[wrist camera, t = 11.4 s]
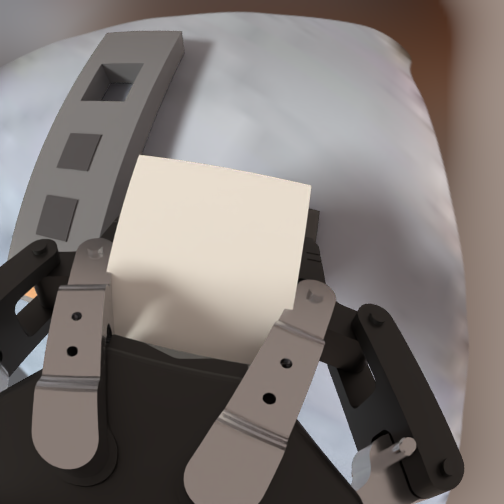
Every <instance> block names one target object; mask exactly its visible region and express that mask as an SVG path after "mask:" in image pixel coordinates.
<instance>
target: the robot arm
mask: <svg viewBox="0 0 504 504" xmlns="http://www.w3.org/2000/svg"><path fill="white" fill-rule="evenodd" d="M120 214H121V213H120ZM119 218H120V215H119V217H117V218H116V219H115V220H114V222H113V223H112V224H111V225H110V226H109V227H108V229H107V230H106V231H105V232H104V233H103V235H102V236H101V237H100V238H93V239H89V240H87V241H85V242H83V243H82V244H80V245H79V247H78V248H77V251H71V252H59V251H58V247H57V244H56V242H55V241H53V240H51V239H40V240H36V241H34V242H32V243H31V244H29V245H28V246H26V247H25V248H24V249H22V250H21V251H20V252H19V253H17V254H16V255H15V256H13V257H12V258H11V259H10V260H8V261H7V262H6V263H5V264H3V265H2V266H1V267H0V504H415V503H418V502H421V501H423V500H426V499H429V498H432V497H434V496H437V495H439V494H442V493H444V492H447V491H449V490H451V489H453V488H455V487H456V486H457V485H458V484H459V483H460V481H461V480H462V477H463V474H464V462H463V459H462V456H461V454H460V452H459V449H458V447H457V444H456V442H455V440H454V437H453V435H452V433H451V431H450V428H449V426H448V424H447V422H446V420H445V417H444V415H443V413H442V411H441V409H440V407H439V405H438V403H437V401H436V398H435V396H434V394H433V392H432V390H431V388H430V386H429V384H428V382H427V380H426V378H425V377H424V375H423V373H422V371H421V369H420V367H419V365H418V363H417V361H416V359H415V358H414V356H413V354H412V352H411V350H410V348H409V347H408V345H407V343H406V341H405V339H404V338H403V336H402V334H401V332H400V330H399V329H398V327H397V325H396V324H395V322H394V320H393V318H392V317H391V315H390V314H389V313H388V312H387V311H386V310H385V309H383V308H381V307H380V306H377V305H374V304H365V305H362V306H361V307H360V308H359V310H358V311H355V310H353V309H350V308H348V307H345V306H343V305H341V304H339V303H338V302H336V296H335V293H334V292H333V290H332V289H331V288H330V287H329V286H327V285H326V284H325V278H324V272H323V267H322V263H321V256H320V251H319V246H318V245H317V244H316V243H315V241H314V240H313V239H312V238H308V237H304V244H303V250H302V257H301V263H300V269H299V276H298V282H297V288H296V294H295V300H294V305H293V310H290V309H284V311H283V313H282V314H281V316H280V318H279V320H278V321H277V320H276V322H275V323H274V325H273V327H272V328H271V330H270V332H269V334H268V336H267V337H266V339H265V341H264V343H263V344H262V346H261V348H260V350H259V352H258V353H257V355H256V357H255V359H254V360H253V362H252V364H251V365H250V367H249V369H248V364H243V363H237V362H231V361H225V360H220V359H215V358H205V359H179V358H174V357H172V356H170V355H168V354H166V353H164V352H161V351H159V350H157V349H156V348H154V347H152V346H150V345H148V344H146V343H144V342H140V341H136V340H132V339H129V338H125V337H122V336H119V335H116V334H115V331H114V319H113V307H112V273H110V272H106V271H107V267H108V262H109V258H110V253H111V249H112V245H113V241H114V237H115V233H116V229H117V225H118V221H119ZM33 287H34V288H35V291H36V294H37V296H36V297H35V298H34V299H33V300H32V301H31V302H29V303H28V304H27V305H26V306H25V307H24V308H23V309H22V310H21V311H20V312H19V313H18V314H17V315H16V314H15V306H16V303H17V302H18V301H19V300H20V299H21V298H22V297H23V296H24V295H25V294H26V293H27V292H28V291H29V290H31V289H32V288H33ZM48 333H49V334H48ZM47 334H48V339H47V345H46V351H45V357H44V364H43V369H41V370H39V371H38V372H36V373H34V374H32V375H30V376H29V377H27V378H25V379H23V380H22V381H20V382H18V383H16V384H14V385H12V386H11V387H8V386H7V385H8V381H9V377H10V376H11V374H12V373H13V372H14V371H15V370H16V369H17V367H18V366H19V365H20V364H21V363H22V362H23V361H24V359H25V358H26V357H27V356H28V355H29V354H30V353H31V352H32V350H33V349H34V348H35V347H36V346H37V345H38V344H39V343H40V342H41V340H42V339H43V338H44V337H45V336H46V335H47ZM319 361H321V362H324V363H326V364H328V369H329V371H330V374H331V377H332V380H333V382H334V385H335V388H336V391H337V393H338V396H339V399H340V402H341V405H342V407H343V410H344V413H345V416H346V419H347V422H348V424H349V427H350V430H351V433H352V436H353V439H354V442H355V445H356V448H357V451H358V452H357V454H356V455H355V456H354V458H353V461H352V472H351V474H352V477H353V479H352V483H351V485H350V484H349V483H348V481H347V480H346V479H345V478H344V477H343V476H342V474H341V473H340V472H339V471H338V470H337V468H336V467H335V466H334V465H333V464H332V462H331V461H330V460H329V459H328V457H327V456H326V455H325V454H324V453H323V451H322V450H321V449H320V448H319V446H318V445H317V444H316V443H315V441H314V440H313V439H312V438H311V436H310V435H309V434H308V433H307V431H306V430H305V429H304V427H303V426H302V425H301V424H300V422H299V421H298V420H297V417H298V414H299V412H300V409H301V407H302V405H303V402H304V399H305V397H306V394H307V392H308V389H309V387H310V384H311V381H312V379H313V376H314V373H315V371H316V368H317V365H318V362H319ZM368 364H369V366H370V368H371V371H372V373H373V375H374V377H373V375H372V373H371V371H370V368H369V366H368ZM374 378H375V380H374Z"/></svg>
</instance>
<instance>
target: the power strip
mask: <svg viewBox="0 0 504 504" xmlns="http://www.w3.org/2000/svg"><path fill="white" fill-rule="evenodd" d="M183 54H184V45H183V37H182V31H130V32H114V33H107V34H106V35H105V37H104V38H103V39H102V41H101V42H100V44H99V45H98V47H97V48H96V49H95V51H94V52H93V54H92V55H91V57H90V58H89V60H88V62H87V63H86V65H85V66H84V68H83V69H82V71H81V73H80V74H79V76H78V78H77V79H76V81H75V83H74V85H73V86H72V88H71V90H70V92H69V93H68V95H67V97H66V99H65V101H64V103H63V105H62V106H61V108H60V110H59V112H58V114H57V116H56V118H55V120H54V122H53V125H52V127H51V129H50V131H49V133H48V135H47V138H46V140H45V142H44V144H43V147H42V149H41V152H40V154H39V156H38V159H37V161H36V164H35V167H34V169H33V172H32V175H31V177H30V180H29V183H28V186H27V189H26V192H25V195H24V198H23V201H22V205H21V208H20V211H19V215H18V218H17V222H16V226H15V229H14V233H13V237H12V242H11V246H10V251H9V255H8V260H10V259H11V258H12V257H13V256H15V255H16V254H17V253H19V252H20V251H21V250H22V249H24V248H25V247H26V246H28V245H29V244H31V243H32V242H34V241H36V240H40V239H51V240H53V241H55V242H56V244H57V247H58V251H59V252H71V251H77V248H78V247H79V245H80V244H82V243H83V242H85V241H87V240H89V239H93V238H100V237H101V236H102V235H103V233H104V232H105V231H106V230H107V229H108V227H109V226H110V225H111V224H112V223H113V222H114V220H115V219H116V218H117V217H119V215H120V213H121V210H122V207H123V203H124V200H125V197H126V193H127V190H128V187H129V184H130V180H131V177H132V174H133V171H134V168H135V165H136V162H137V159H138V157H139V155H142V152H143V149H144V146H145V143H146V141H147V138H148V135H149V133H150V130H151V127H152V125H153V122H154V120H155V117H156V115H157V112H158V110H159V107H160V105H161V103H162V100H163V98H164V96H165V93H166V91H167V89H168V86H169V84H170V82H171V80H172V78H173V75H174V73H175V71H176V69H177V67H178V65H179V63H180V61H181V59H182V57H183ZM110 83H133V85H132V87H131V89H130V91H129V93H128V95H127V97H126V100H125V102H120V101H101V100H102V98H103V96H104V94H105V92H106V91H107V89H108V87H109V85H110ZM8 260H7V261H8ZM36 296H37V294H36V291H35V288H34V287H33V288H32V289H31V290H29V291H28V292H27V293H26V294H25V295H24V296H23V297H22V298H21V299H22V300H24V301H27V302H31V301H32V300H33V299H34V298H35V297H36Z"/></svg>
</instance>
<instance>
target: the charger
mask: <svg viewBox="0 0 504 504" xmlns="http://www.w3.org/2000/svg"><path fill="white" fill-rule="evenodd" d="M310 193H311V186H310V185H306V184H302V183H298V182H293V181H289V180H284V179H280V178H275V177H270V176H265V175H261V174H256V173H251V172H245V171H240V170H235V169H229V168H224V167H218V166H213V165H207V164H201V163H194V162H188V161H182V160H175V159H168V158H161V157H153V156H145V155H139V157H138V159H137V162H136V165H135V168H134V171H133V174H132V177H131V180H130V184H129V187H128V190H127V193H126V197H125V200H124V203H123V207H122V210H121V214H120V218H119V221H118V225H117V229H116V233H115V237H114V241H113V245H112V249H111V253H110V258H109V262H108V267H107V271H106V272H110V273H112V307H113V319H114V331H115V334H116V335H119V336H123V337H126V338H130V339H133V340H137V341H141V342H145V343H149V344H153V345H157V346H161V347H165V348H169V349H173V350H178V351H182V352H187V353H191V354H196V355H201V356H206V357H211V358H216V359H221V360H227V361H232V362H238V363H244V364H250V365H251V364H252V362H253V360H254V359H255V357H256V355H257V353H258V352H259V350H260V348H261V346H262V344H263V343H264V341H265V339H266V337H267V336H268V334H269V332H270V330H271V328H272V327H273V325H274V323H275V322H276V320H277V321H278V320H279V318H280V316H281V314H282V313H283V311H284V309H290V310H293V305H294V300H295V294H296V288H297V282H298V276H299V269H300V263H301V257H302V250H303V244H304V237H305V230H306V223H307V216H308V208H309V201H310Z"/></svg>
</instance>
